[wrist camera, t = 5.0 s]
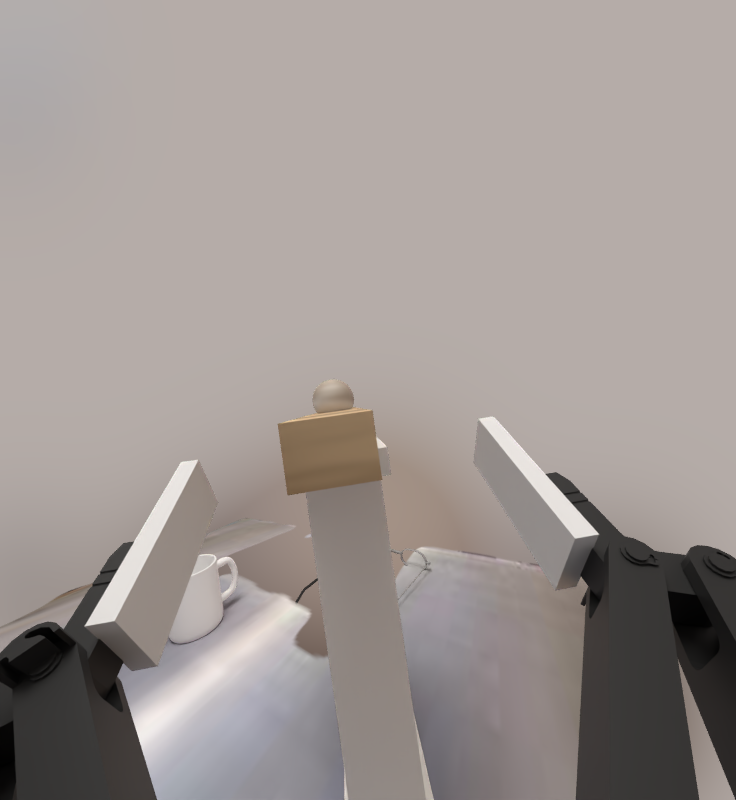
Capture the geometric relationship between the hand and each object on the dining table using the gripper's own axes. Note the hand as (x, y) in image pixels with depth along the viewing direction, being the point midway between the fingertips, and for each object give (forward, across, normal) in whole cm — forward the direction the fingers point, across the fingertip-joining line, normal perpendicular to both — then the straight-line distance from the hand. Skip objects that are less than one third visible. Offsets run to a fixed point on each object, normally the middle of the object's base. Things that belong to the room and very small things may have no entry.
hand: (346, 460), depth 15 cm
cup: (+20, -28, -48) cm, 59 cm away
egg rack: (+8, -1, -6) cm, 10 cm away
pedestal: (-3, -1, -34) cm, 34 cm away
